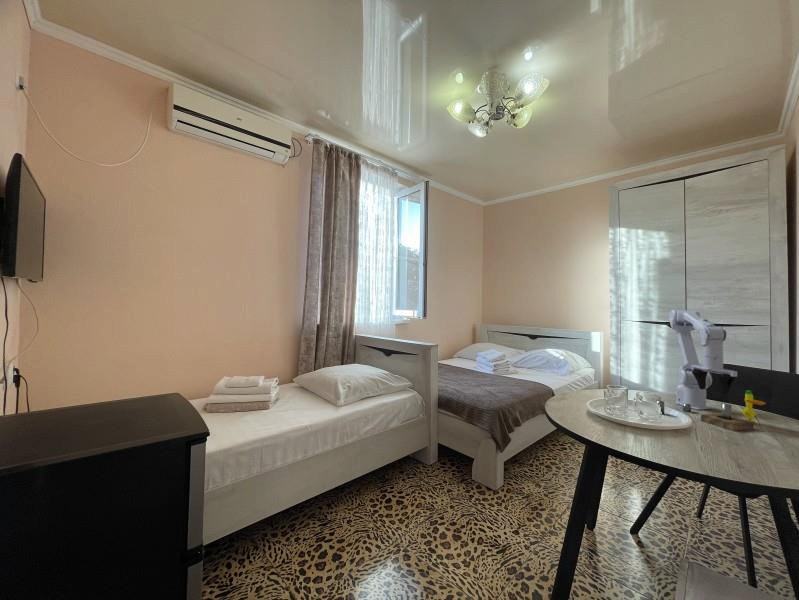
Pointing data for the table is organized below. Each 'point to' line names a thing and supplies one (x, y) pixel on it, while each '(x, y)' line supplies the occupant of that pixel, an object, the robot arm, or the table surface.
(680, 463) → the table surface
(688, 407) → the short pin
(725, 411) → the long pin
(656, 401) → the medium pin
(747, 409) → the toy figure
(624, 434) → the table surface
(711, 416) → the hole block
